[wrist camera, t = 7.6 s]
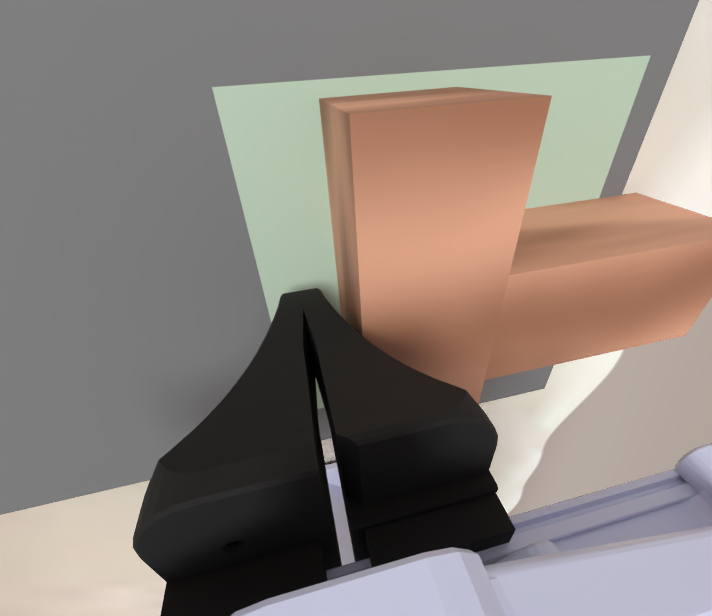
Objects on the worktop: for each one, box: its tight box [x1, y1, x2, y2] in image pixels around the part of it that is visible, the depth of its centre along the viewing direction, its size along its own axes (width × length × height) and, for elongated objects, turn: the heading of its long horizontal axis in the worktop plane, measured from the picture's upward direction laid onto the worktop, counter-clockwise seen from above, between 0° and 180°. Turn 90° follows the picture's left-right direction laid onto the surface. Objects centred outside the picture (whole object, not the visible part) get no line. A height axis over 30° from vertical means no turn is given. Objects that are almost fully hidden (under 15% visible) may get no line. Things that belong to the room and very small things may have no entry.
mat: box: [0, 0, 699, 515], centre depth 12 cm, size 18×30×1 cm, turn 93°
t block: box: [319, 87, 712, 405], centre depth 12 cm, size 12×12×4 cm
